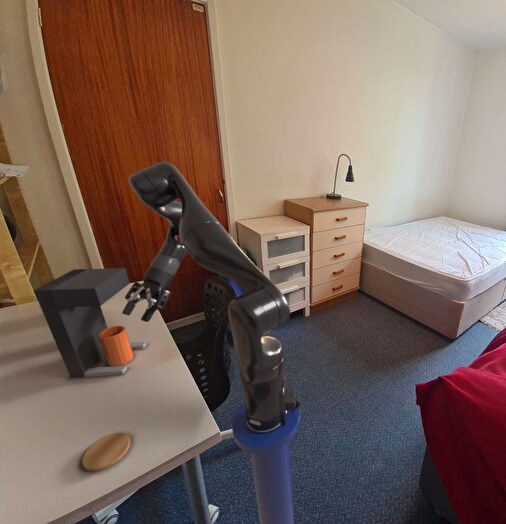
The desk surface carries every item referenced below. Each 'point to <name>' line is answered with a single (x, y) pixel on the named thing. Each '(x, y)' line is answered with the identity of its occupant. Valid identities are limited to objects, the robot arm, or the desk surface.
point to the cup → (116, 345)
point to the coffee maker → (82, 317)
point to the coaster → (106, 452)
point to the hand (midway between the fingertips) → (134, 317)
